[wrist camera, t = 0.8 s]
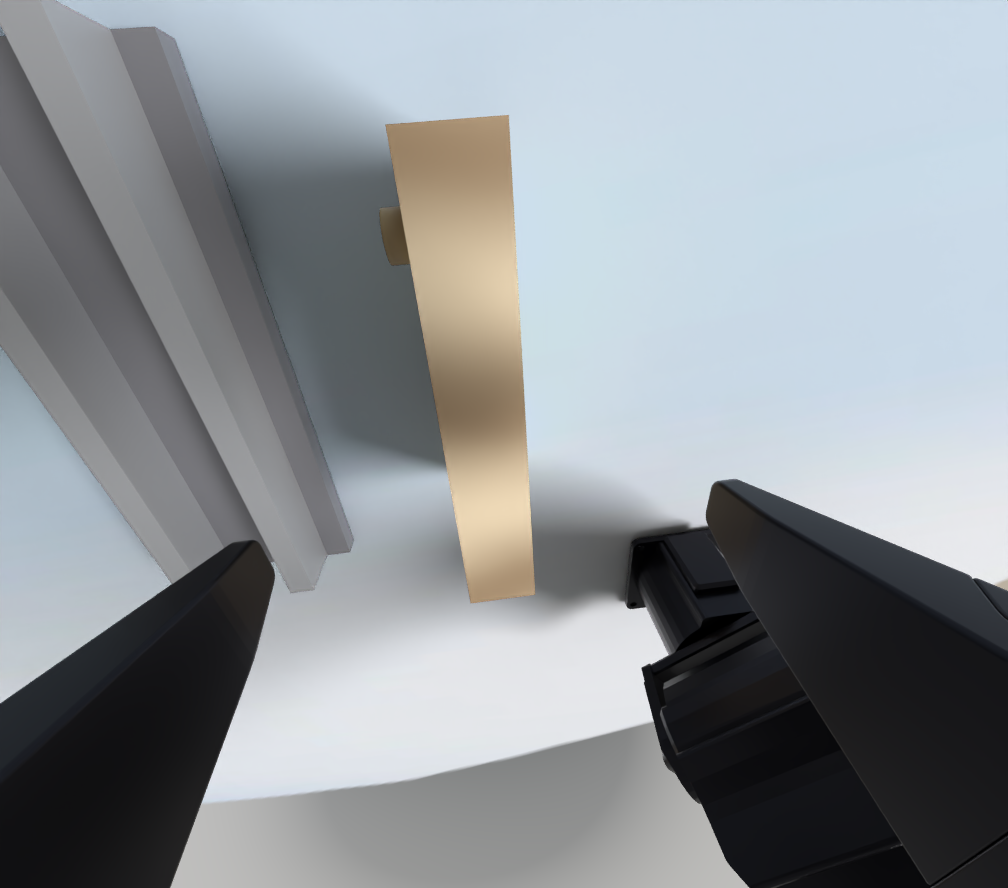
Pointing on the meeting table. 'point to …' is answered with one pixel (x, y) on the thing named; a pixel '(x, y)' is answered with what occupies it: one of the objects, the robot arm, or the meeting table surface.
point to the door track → (148, 300)
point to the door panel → (469, 331)
